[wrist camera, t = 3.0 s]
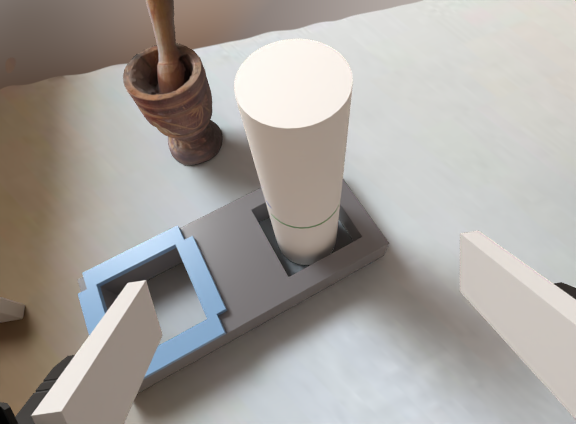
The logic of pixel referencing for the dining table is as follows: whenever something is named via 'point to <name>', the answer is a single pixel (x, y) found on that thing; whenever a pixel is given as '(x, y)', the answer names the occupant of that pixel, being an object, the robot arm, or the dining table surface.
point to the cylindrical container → (298, 139)
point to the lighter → (10, 310)
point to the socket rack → (227, 275)
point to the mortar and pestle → (174, 90)
